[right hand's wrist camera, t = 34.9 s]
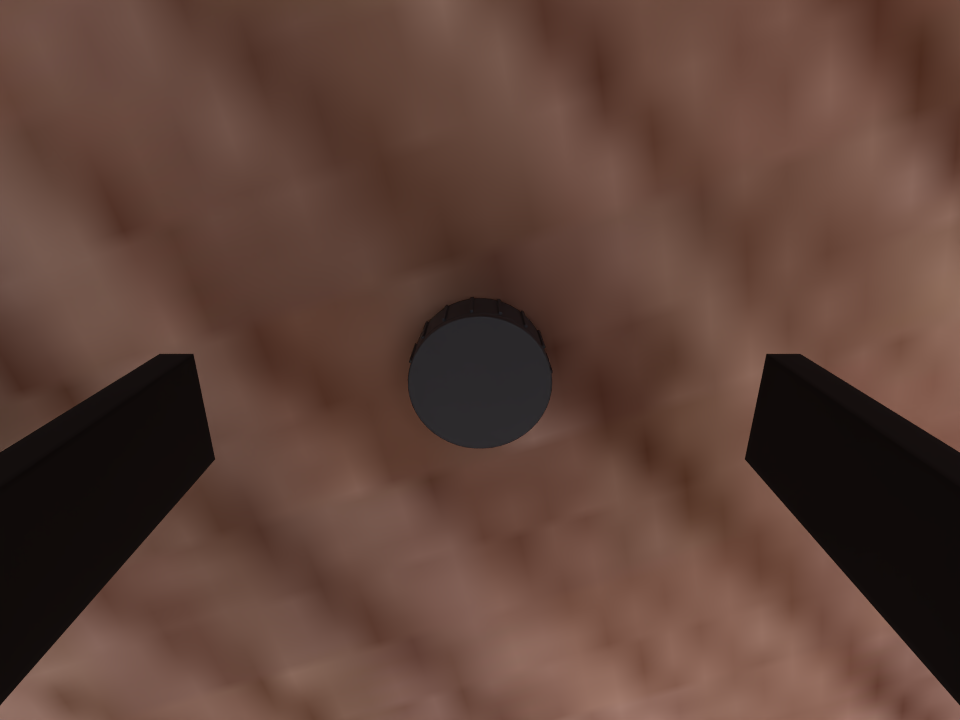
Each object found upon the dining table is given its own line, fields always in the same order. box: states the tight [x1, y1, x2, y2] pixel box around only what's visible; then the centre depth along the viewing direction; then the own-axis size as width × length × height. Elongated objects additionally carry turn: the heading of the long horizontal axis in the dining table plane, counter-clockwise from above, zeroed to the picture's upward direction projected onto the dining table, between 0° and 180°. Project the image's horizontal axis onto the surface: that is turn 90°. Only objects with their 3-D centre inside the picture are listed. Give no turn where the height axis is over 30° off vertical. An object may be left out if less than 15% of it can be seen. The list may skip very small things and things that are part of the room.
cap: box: [408, 297, 552, 448], centre depth 15 cm, size 4×4×2 cm
